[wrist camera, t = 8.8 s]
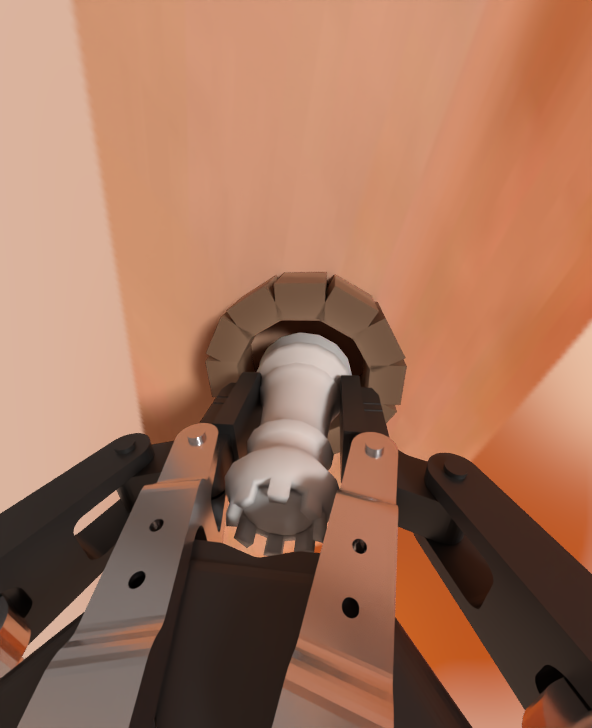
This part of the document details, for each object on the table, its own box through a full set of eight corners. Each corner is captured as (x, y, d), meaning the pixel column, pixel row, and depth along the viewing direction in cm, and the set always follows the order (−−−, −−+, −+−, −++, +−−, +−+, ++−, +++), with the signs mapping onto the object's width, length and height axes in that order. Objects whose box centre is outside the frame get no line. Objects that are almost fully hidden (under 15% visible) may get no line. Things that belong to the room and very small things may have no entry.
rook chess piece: (288, 418, 15) (249, 587, 8) (244, 351, 14) (150, 491, 7) (365, 390, 14) (396, 564, 7) (326, 312, 12) (315, 436, 5)
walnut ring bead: (213, 273, 14) (189, 284, 12) (405, 271, 13) (420, 282, 10) (236, 421, 18) (222, 450, 16) (383, 429, 17) (391, 461, 15)
